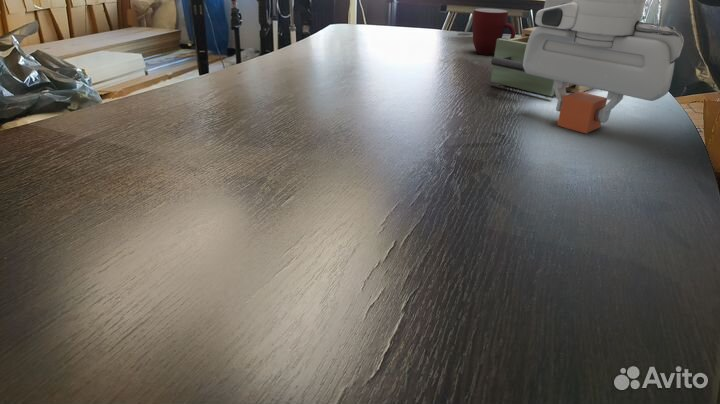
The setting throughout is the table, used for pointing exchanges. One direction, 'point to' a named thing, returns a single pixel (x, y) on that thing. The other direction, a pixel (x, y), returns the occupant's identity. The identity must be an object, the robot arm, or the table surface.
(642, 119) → the table surface
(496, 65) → the drawer
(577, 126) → the block
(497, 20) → the mug
